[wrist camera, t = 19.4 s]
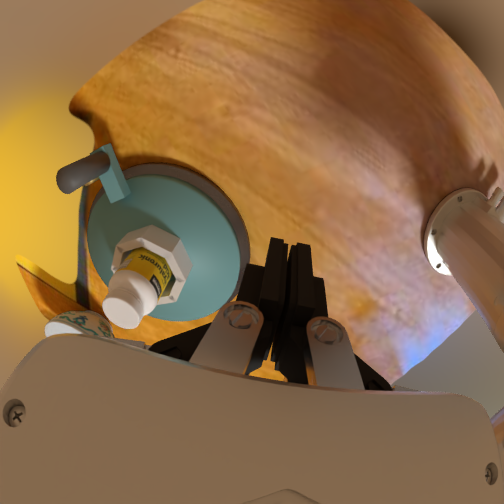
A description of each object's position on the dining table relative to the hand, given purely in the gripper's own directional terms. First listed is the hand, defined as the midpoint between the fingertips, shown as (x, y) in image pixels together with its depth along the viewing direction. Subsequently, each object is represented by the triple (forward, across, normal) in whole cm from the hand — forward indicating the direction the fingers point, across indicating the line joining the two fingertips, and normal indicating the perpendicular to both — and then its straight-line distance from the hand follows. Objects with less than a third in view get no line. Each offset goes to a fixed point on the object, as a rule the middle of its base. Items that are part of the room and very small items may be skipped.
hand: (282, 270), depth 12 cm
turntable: (+16, +14, +10) cm, 24 cm away
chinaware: (+17, +28, +31) cm, 45 cm away
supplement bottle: (+15, +13, +12) cm, 23 cm away
